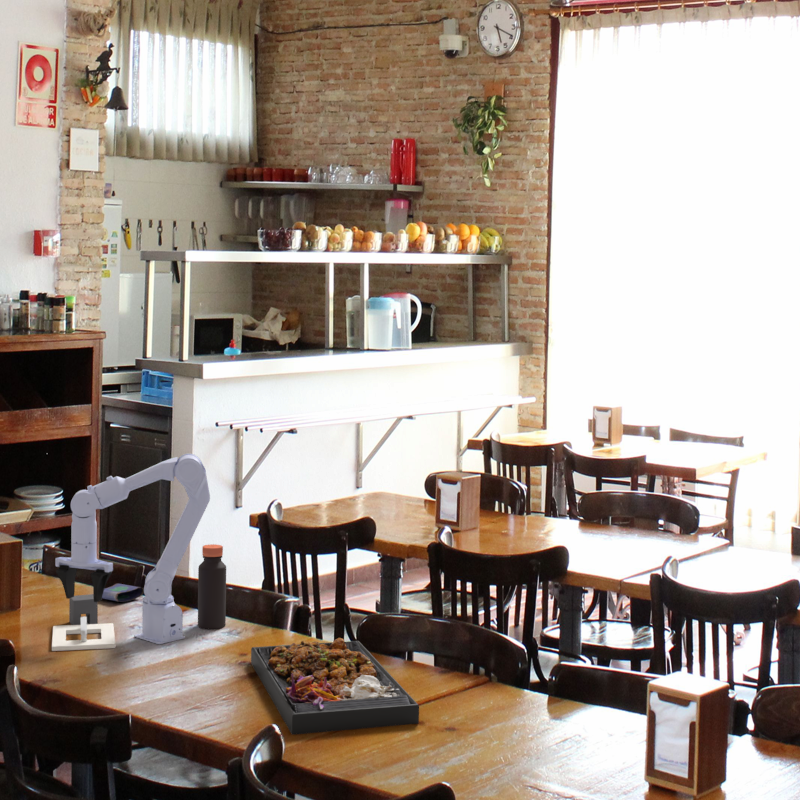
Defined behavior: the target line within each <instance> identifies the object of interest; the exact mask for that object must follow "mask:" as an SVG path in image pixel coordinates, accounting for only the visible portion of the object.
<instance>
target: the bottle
mask: <svg viewBox="0 0 800 800" xmlns="http://www.w3.org/2000/svg"><path fill="white" fill-rule="evenodd" d="M223 549H224V546H223V545H222V544H216V543H215V544H214V543H213V544H205V545H204V544H203V546H202V552H201V553H202V555H201V556H202V558H203V561H202V562H201V563H200V564H199V565H198V572H197V573H198V574H197V576H198V577H197V578H198V581H197V583H198V584H197V585H198V586H197V627H198V628H199V629H202V630H207V631H208V630H211V631H213V630H220V629H223V628H225V627H226V617H227V614H226V612H227V611H226V610H227V609H226V608H227V603H226V602H227V565H226V564H225V563H224V562H223V561H222V558H223V555H224V553H223V551H224V550H223Z"/></svg>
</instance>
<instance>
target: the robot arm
mask: <svg viewBox="0 0 800 800" xmlns="http://www.w3.org/2000/svg"><path fill="white" fill-rule="evenodd" d="M175 478H176V479H177V480H178V482H179V483H180V485H181V486H183V487H184V489H185V492H186V495H187V497H188V500H187V501H186V504H185V506H184V508H183V509H182V512H181V515H180V516H179V517H178V521H177V523H176V525H175V527H174V529H173V531H172V533H171V535H170V538H169V540H168V541H167V544H166V545H165V548H164V550H163V552H162V554H161V556H160V558H159V559H158V561H157V563H156V565H155V567H154V568H153V569H151V570H150V571H149V572H148V573H147V575H146V577H145V580H144V587H143V594H144V597H142V608H141V609H142V611H141V612H142V615H141V616H142V617H141V618H142V623H141V626H142V627H141V631H142V632H140V633H136V634H134V638H137V639H141V640H143V641H147V642H150V643H152V644H156V645H162V644H167V643H171V642H175V641H179V640H183V639H185V638H186V636H185V635H183V627H184V626H183V625H184V624H183V620H184V619H183V618H184V617H183V616H184V615H183V614H184V613H183V610H182V608H181V607H180V606H179V605H177V604H176V603H175V601H174V599H175V597H174V595H172V586H173V580H174V578H175V576H176V573H177V570H178V567H179V566H180V564H181V562H182V558H183V557H184V556H185V553H186V551H187V549H188V547H189V544H190V543H191V541H192V538H193V536H194V534H195V532H196V531H197V528H198V526H199V524H200V522H201V521H202V517H203V515H204V514H205V511H206V509H207V508H208V505H209V502H210V500H211V495H210V488H209V481H208V477H207V471H206V468H205V466H204V464H203V462H202V460H201V459H200V457H198V456H197V455H196V454H193V453H184V454H182V455H181V456H179V457H178V456H175V457H172V458H169V459H166V460H163V461H160V462H158V463H157V464H154V465H151V466H150V467H148V468H145V469H143V470H140V471H139V472H137V473H135V474H133V475H130V476H128V477H125V478H124V477H121V476H117V475H116V476H114V477H113V476H112V475H109V476H107V477H106V480H105V481H103V482H100V483H97V484H95V485H92V484H90V485H87V486H86V487H87V489H80V490H78V491H77V492H75V494H74V495H73V497H72V499H71V501H70V510H71V512H72V514H71V520H72V522H71V527H70V529H71V534H70V535H71V537H70V538H71V539H70V541H71V543H70V545H71V552H70V553H71V555H70V557H67V556H65V557H64V556H59V557H55V562H54V563H55V567H57V569H55V570H56V574H57V576H58V578H59V580H60V582H61V584H62V587H63V591H64V593H65V599H68V600H69V598H72V597H74V596H75V587H76V586H75V583H76V577H77V572H78V571H77V570H78V569H80V570H81V569H83V570H90V571H94V572H90V578H91V582H92V587H93V588H92V589H93V590H92V591H93V593H92V594H93V598H94V602H101V601H102V600H103V599H102V595H103V592H104V588H106V585H107V583H108V581H109V579H110V577H111V576H112V572H113V571H114V562H109V561H106V560H101V559H98V557H97V554H98V549H97V544H98V543H97V541H98V538H97V537H98V535H97V534H98V532H97V531H98V526H97V524H98V522H97V520H96V518H97V512H96V510H103V509H105V508H108V507H110V506H112V505H115V504H117V503H119V502H122V501H124V500H127V499H128V497H129V494H130V492H131V491H134V490H136V489H139V488H141V487H145V486H147V485H150V484H152V483H155V482H159V481H161V480H165V481H169V482H174V481H175Z"/></svg>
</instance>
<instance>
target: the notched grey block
mask: <svg viewBox="0 0 800 800" xmlns="http://www.w3.org/2000/svg"><path fill="white" fill-rule="evenodd" d="M68 600H69V601H68V602H69V605H68V606H69V609H68V610H69V612H68V613H69V618H68V619H69V620H68V621H69V623H70V625H81V617H82V615H85V617H87V624H99V623H98V615H99V614H98V611H99V609H98V608H99V606H98V605H99V604H98V602H94V598H93V593H89V594H81V595H79V594H77V595H74V597H72V598H69V599H68Z"/></svg>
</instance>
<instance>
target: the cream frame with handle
mask: <svg viewBox="0 0 800 800" xmlns="http://www.w3.org/2000/svg"><path fill="white" fill-rule="evenodd" d="M88 634H100V638H94V639H93V638H92V639H88V638H87V637H88ZM67 635H80V639H73V640H71V639H70V640H67ZM115 635H116V634H115V628H114V623H113V622H112V623H111V622H110V623H98V624H88V623H87V617H86V615H85V616H81V625H71V624H67V625H66V624H65V625H53V626H52V639H51V651H52V652H56V651H57V652H60V651H62V652H63V651H79V650H100V649H102V650H105V649H116V646H117V645H116V636H115Z"/></svg>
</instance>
